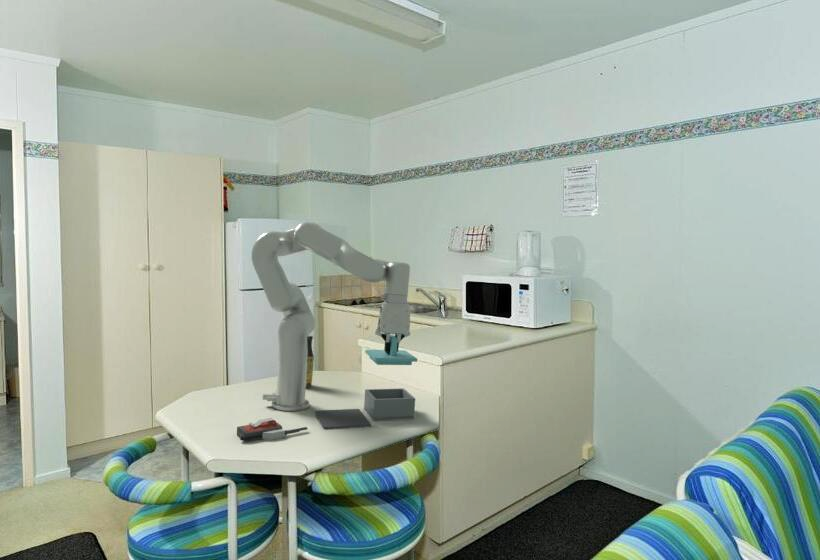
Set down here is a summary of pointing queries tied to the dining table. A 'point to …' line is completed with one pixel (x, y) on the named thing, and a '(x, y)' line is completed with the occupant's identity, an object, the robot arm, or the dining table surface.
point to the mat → (342, 418)
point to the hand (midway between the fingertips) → (390, 353)
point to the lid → (391, 355)
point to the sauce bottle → (309, 361)
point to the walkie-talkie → (264, 430)
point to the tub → (389, 404)
